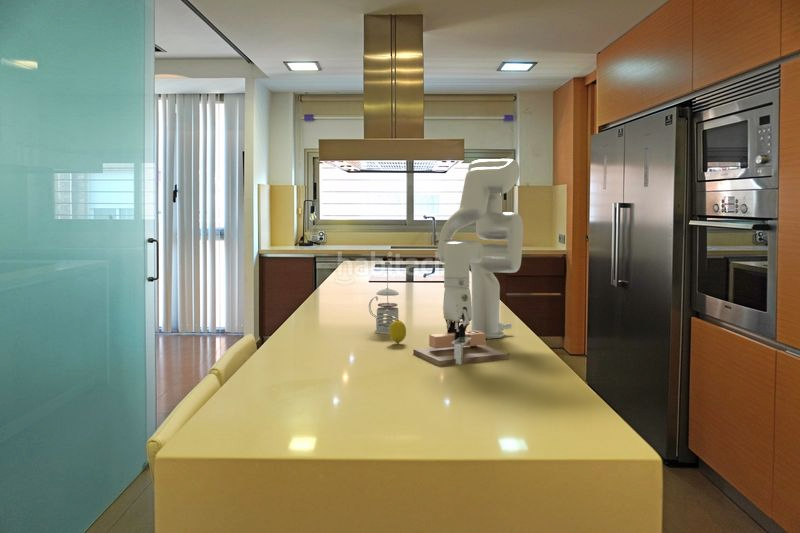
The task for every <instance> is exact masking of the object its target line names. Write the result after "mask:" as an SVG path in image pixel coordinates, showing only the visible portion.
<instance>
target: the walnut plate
mask: <svg viewBox="0 0 800 533" xmlns="http://www.w3.org/2000/svg"><path fill="white" fill-rule="evenodd" d="M412 350H413V351H412V352H413V353H412V354H413V355H414V356H416V357H419V358H421V359H423V360H425V361H427V362H430V363H431V364H434V365H435V366H438V367H443V366H454V365H457V364H456V359H454V347H449V348H438V349H435V348H432V347H424V348H423V347H421V348H413V349H412ZM509 359H510V353H509V352H506V351H503V350H500V349H498V348H494V347H492V346H488V345H486V344H485V345H477V348H471V347H470V346H463V364H462V365H464V364H470V363H471V364H472V363H480V362H489V361H499V360H509Z"/></svg>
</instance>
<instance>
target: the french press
mask: <svg viewBox="0 0 800 533" xmlns="http://www.w3.org/2000/svg"><path fill="white" fill-rule="evenodd" d="M384 265H385V266H386V267H387V269H386V270H387V273H386V274H387V275H386V277H387V278H386V280H387V281H386V283H387V285H386V286H387V287H386V288H383V289H382V288H381V289H380V290H378V291H377V292H375V293H376V295H378V296H382V297H383V296H385V297H387V300H386V301H387V302H380V303H378V304H377V306H378V308H377V309H376V315H375V314H374V313H373V311H372V308H371V307H372V306H371V305H372V302H373V300H374V299H375V300H376V302H378V300H379V297H378V296H374V297H372V299H370V300H369V303H368V311H369V313H370V315H371V316H372V317H374V318H375V319H376V322H375V323H376V325H375V327H376V328H375V329H374V331H373V333H375V334H379V333H380V335H381V334H382V335H389V328H390V325H391V323H392V322H394V321H396V320H397V319H398V320H399V308H398V303H395V302H389V296H391V297H393V296H394V297H395V296H398V295H400V293H399V291H397V290H395V289H393V288H389V266H390V265H391V262H390V261H385V262H384Z"/></svg>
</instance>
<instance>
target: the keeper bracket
mask: <svg viewBox="0 0 800 533" xmlns="http://www.w3.org/2000/svg"><path fill="white" fill-rule="evenodd" d="M470 340H471V338H467V337H459V338H457V339H456V340H454V341H453V342H452V344H454V359H456V364H455V365H459V366H461V365H464V364H463V345H464V344H466V343H467V342H468V341H470Z"/></svg>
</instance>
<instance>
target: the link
mask: <svg viewBox="0 0 800 533" xmlns="http://www.w3.org/2000/svg"><path fill="white" fill-rule="evenodd" d="M470 332H476V333H475V334H470ZM465 337H467V338H471V340H470V341H468V342H467V343H466V344H464V345H463V346H477V345H486V339H485V333H483V332H480V331H469V330H466V332H465ZM454 340H455V333H447V332H446V333H435V334H429V337H428V347H429V348H431V347H432V348H435V349H438V348H449V347H454V344H452V342H453V341H454Z"/></svg>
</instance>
